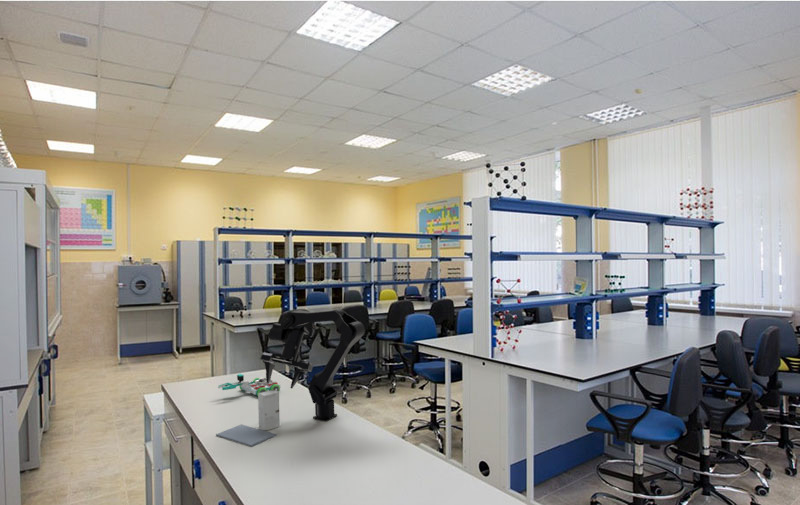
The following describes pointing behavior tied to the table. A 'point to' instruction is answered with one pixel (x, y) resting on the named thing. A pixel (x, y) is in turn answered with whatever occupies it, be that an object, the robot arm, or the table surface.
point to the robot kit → (252, 385)
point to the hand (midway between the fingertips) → (279, 385)
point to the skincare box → (268, 410)
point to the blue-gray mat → (246, 435)
